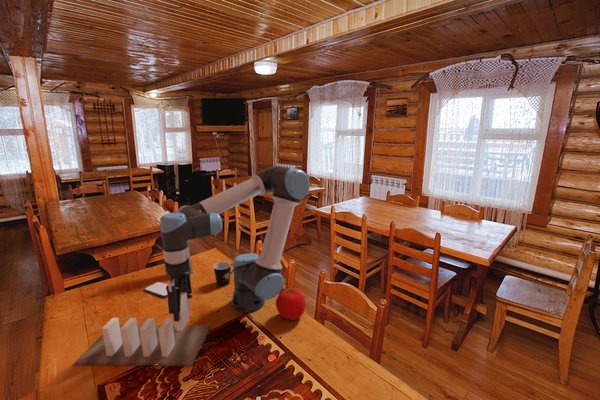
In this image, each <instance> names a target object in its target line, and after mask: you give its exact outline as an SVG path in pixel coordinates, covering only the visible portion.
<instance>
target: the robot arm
mask: <svg viewBox="0 0 600 400" xmlns="http://www.w3.org/2000/svg"><path fill="white" fill-rule="evenodd" d="M309 191H310V179H309V177H308V174H307V173H306V171H304V170H302V169H300V168H299V169H298V168H296V167H295V168H294V167H286V166H281V165H275V166H271V167H268V168H265V169H263V170H261V171H259V172H257V173H254V174H252V176H251V178H250V179H246V180H244V181H242V182H241V183H238V184H236V185H234V186H232V187H230V188H228V189H225V190H223V191H221V192H219V193H217V194H214V195H211V196H210V197H208V198H206V199H204V200H201V201H199V202H196V203H195V204H192V205H182V206H180V207H179V208H178V209H177V211H176V212H177V213H174V212H169V213H165V214H163V215H162V216H161V217H160V219H159V222H160V224H159V225H160V230H159V231H160V234H161V241H162V254H163V259H164V271H165V273H166V274H167V275H168V276H170V278H169V279H170V281H169V282H170V284H169V285H170V286H166V290H167V295H168V297H167V306H168V307H167V309H168V315H173V317H172V319H173V325H174V327H175V328H177V329H183V317H182V310H180V305H181V292H187V301H188V311H189V317H191V316H192V314H191V301H190V299H192V298H193V295H192V292H193V290H192V283H191V275H190V264H189V259H188V258H189V252H188V243H187V242H188V240H190V241H191V240H195V239H201V238H205V237H209V236H211V237H212V236H215V235H217V234H220V233H221V232H222V230H223V221H222V217H221V214H222V213H225V212H227V211H228V210H230V209H232V208H234V207H236V206H238V205H240V204H242V203H244V202H247V201H249V200H250V199H253V198H255V197H256V196H263V195H266V194H270V193H272V197H271V198H272V199H273V201H274V202H273V205H272V211H271V215H270V217H269V222H268V226H267V230H266V234H265V236H264V241H263V244H262V247H261V251H260V254H257V253H254V252H251V253H243V254H239V255H238V256H235V257H234V258H233V259H232V260H233V262H232V264H233V265H232V268H233V269H232V270H233V285H234V290H233V294H232V296H231V299H230V301H231V308H232V309H234V310H235V311H237V312H240V313H252V312H256V311H258V310H260V309H261V308H262V307H264V305H265V303H266V301H267V300H271V299H275V297H277V296H278V295H279V294H280V293H281V292H282V291H283V289H284V286H285V285H284V284H285V279H284V276H283V275H282V270H283V265H282V264H281V260H282V255H283V252H284V248H285V244H286V242H287V236H288V233H289V230H290V226H291V222H292V219H293V214H294V212H295V211H294V210H295V207H296V206H298V205H300V203H301V200H302V199H304V198H306V196H308V193H309Z"/></svg>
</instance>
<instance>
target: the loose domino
mask: <svg viewBox="0 0 600 400" xmlns="http://www.w3.org/2000/svg"><path fill="white" fill-rule="evenodd" d="M180 310H182V317H183V329H184V328H185V326H186V325H188V323H189V321H190V316H189V311H188V301H187V292H181V305H180ZM183 329H177V331H183Z"/></svg>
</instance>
